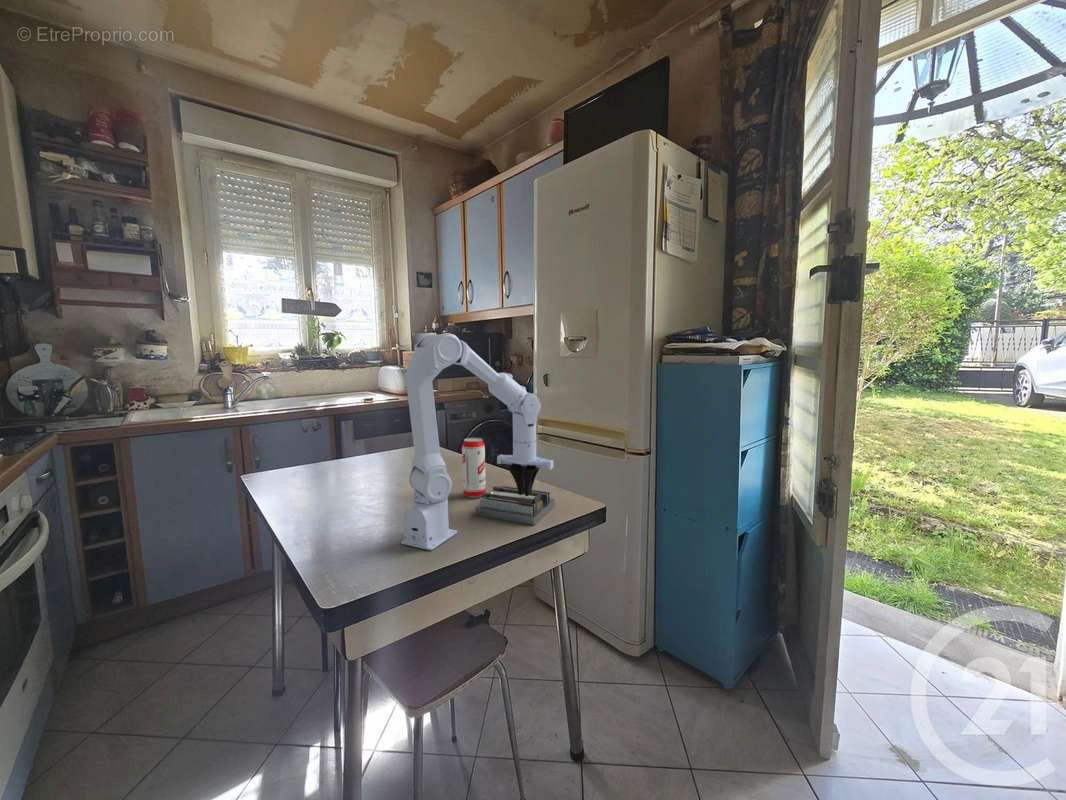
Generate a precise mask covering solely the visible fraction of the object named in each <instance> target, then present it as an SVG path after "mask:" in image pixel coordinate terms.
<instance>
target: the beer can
mask: <svg viewBox="0 0 1066 800" xmlns="http://www.w3.org/2000/svg"><path fill="white" fill-rule="evenodd" d="M483 441H484V440H483V438H482V437H468V438H466V437H465V438H464V439H463V443H462V446H461V452H462V453H461V456H462V458H461V459H462V461H461V462H462V463H461V464H462V489H463V490H462V491H463V495H464V496H465V497H466V496H467V497H466V498H468V497H469V499H479V498H478V497H480V498H482V497H481V496H482V493H484V492H485V493H487V491H486V486H487V483H486V450H485V449H486V448H485V443H484V442H483Z"/></svg>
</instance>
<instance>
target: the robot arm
mask: <svg viewBox="0 0 1066 800" xmlns="http://www.w3.org/2000/svg"><path fill="white" fill-rule="evenodd" d="M413 350H414V351H413V354H412V356H411V358H410V360H409V363H408V365H407V367H406V369H405V384H406V392H407V401H408V408H409V409H408V410H409V416H410V426H411V434H412V443H413V452H414V456H413V457H412V459H411V461H410V463H411V470H410V472H409V475H408V482H409V485H410V486H411V488H412V489H413V490H414V493H413V497H412V502H411V504H410V506H409V507H408V508H406V509H405V510H404V512H403V540H401V542H400V543H401V545H404V546H410V547H414V548H419V549H423V550H427V551H432V550H434V549H436V548H437V547H438V546H440V545H441V544H443V543H445V542H446V541H447V540H449V539H450V538H452V537H453V536H455V535H456V534H458V530H456V529H452V528H449V527H450V524H449V504H448V503H449V497H448V496H449V495H450V493H451V491H452V488H453V481H452V478H451V477H450V475H449V474H448V471H447V466H446V462H445V461H444V459H443V457H442V455H441V451H440V450H441V449H440V439H439V433H438V431H439V430H438V423H437V412H436V406H435V405H436V403H435V394H434V393H435V392H434V385H433V383H434V382H433V380H434V379H435V378H436V377H437V376H438V375H439V374H441V372H442V371H443V370H444V369H446V368H447V367H450V366H452V365H459V366H462V367H463V368H465V370H468V371H469V372H470V373H472V374H473V375H474V376H475V377H478V378H479V379H480V380H482V381H483V382H484V383H486V384H487V386H488V391H489V393H490V394H491V395H493V396H494V397H496V398H497V399H498V400H499V401H500V402H502V403H503V404H504V405H506V406H507V409H508V410H509V411H508V412H510V413H512V454H499V455H497V457H496V464H497V465H503V464H504V465H511V466H510V467H509V472H510V474H511V476H512V477H513V479H514V482H515V485H516V487H517V488H518V492H519V495H522V494H524V493H525V496H529V495H530V494H531V491H532V490H533V485H534V483H535V480H536V477H537V475H538V473H539V471H540V469H546V470H548V471H551V470H552V469H554V459H547V458H543V457H539V456H537V421H538V415H539V413H540V411H541V408H542V404H541V402H540V399H539V398H538V396H537V395H536V394H535V393H532V392H527V388H526V387H525V386H524V385H520V384H519V383H518V382H516V380H514V379H513V378H514V375H512V374H511V373H507V372H497V371H495V369H494V368H492V366H490V365H489V364H488V363H487V362H486V361H485V360H484V359H483V358H482V357H480V356H479V355H478V354H477V353H476V352H475V351H474V350H473V349H472V348H471V347H470V346H469V345H468V343H466V342H465V341H463V340H460V338H459V337H458V336H456V335H455V334H453V333H450V332H444V333H441V334H440V333H439V334H427V335H425V336H424V337H421V339H420V340H419V341H418V342H417V343H416V344H415V345H414V348H413Z"/></svg>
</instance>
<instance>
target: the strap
mask: <svg viewBox="0 0 1066 800" xmlns="http://www.w3.org/2000/svg"><path fill="white" fill-rule="evenodd" d="M489 493H490V496H491V497H494V498H502V499H509V500H517V501H524V502H532V499H533V498H534V497H536V496H530V495H529V496H525V495H519V494H514V493H506V492H498V491H496V490H494V491H493V490H492V491H490V492H489Z"/></svg>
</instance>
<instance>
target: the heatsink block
mask: <svg viewBox="0 0 1066 800" xmlns="http://www.w3.org/2000/svg"><path fill="white" fill-rule="evenodd" d="M494 490H496V491H498V492H506V493H514V494H519V492H518V488H517V486H507V485H501V486H496V485H494V486H493V487H492V491H494ZM522 495H525V493H524V494H522ZM530 496H536V497H534V498H533V499H532V502H524V501H517V500H509V499H502V498H494V497H491V496H490V492H484V493H482V497H480V498H479V504H478V505H476V506H475V507H474V508H475V509H474V510H475V511H474V512H475V513H474V515H475V516H478V517H484V518H490V519H495V520H502V521H505V522H506V521H507V522H512V523H517V522H518V524H523V523H525V525H529V524H531V525H530V526H536V525H537V524H538V523H539V522H540V521H541V520H543V518H544V517H546V516H547V515H548V514H549V513H550V512H551V511H552V510H553V509H554V508H555V507H556V499H555V498H551V491H545V490H537V489H532V491H531V494H530ZM548 512H549V513H548ZM547 513H548V514H547ZM536 523H537V524H536ZM535 524H536V525H535Z"/></svg>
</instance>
